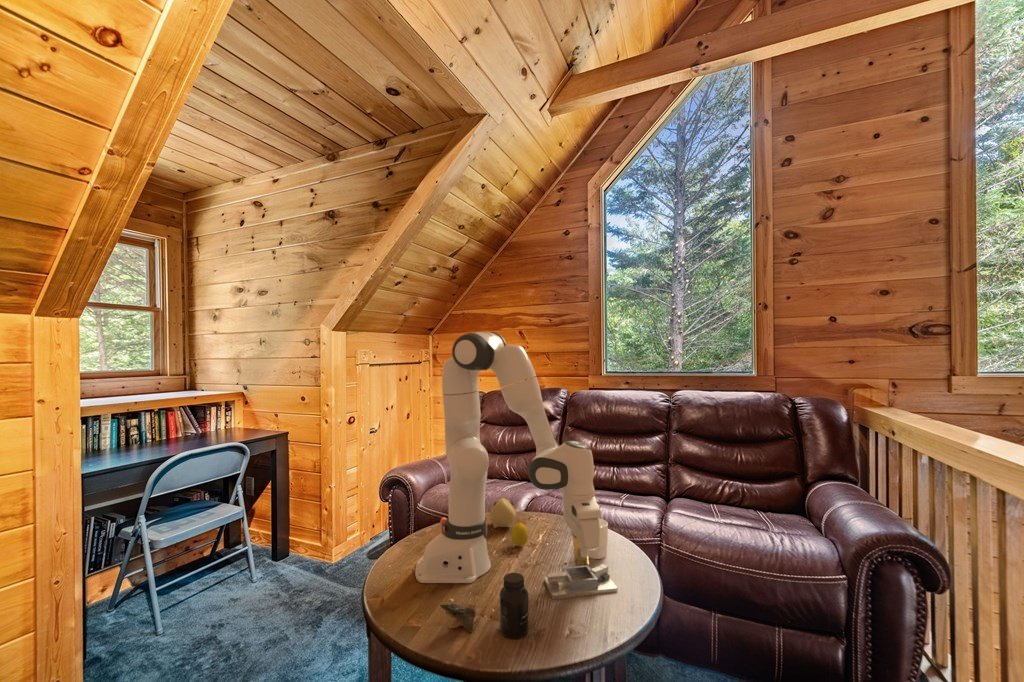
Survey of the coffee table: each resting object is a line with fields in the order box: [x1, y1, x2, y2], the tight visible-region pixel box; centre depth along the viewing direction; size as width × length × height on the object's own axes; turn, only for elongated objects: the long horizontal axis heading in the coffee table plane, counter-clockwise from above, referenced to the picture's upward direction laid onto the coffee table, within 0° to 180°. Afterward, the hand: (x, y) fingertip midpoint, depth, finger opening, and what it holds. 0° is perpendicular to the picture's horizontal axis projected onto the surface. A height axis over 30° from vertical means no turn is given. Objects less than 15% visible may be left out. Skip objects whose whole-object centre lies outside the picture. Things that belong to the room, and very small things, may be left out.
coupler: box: [573, 535, 590, 566], centre depth 115 cm, size 4×4×7 cm
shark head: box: [440, 603, 476, 634], centre depth 98 cm, size 8×6×7 cm
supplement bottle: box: [498, 572, 530, 640], centre depth 97 cm, size 7×7×12 cm
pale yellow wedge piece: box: [488, 497, 517, 529], centre depth 155 cm, size 10×12×11 cm
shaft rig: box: [543, 563, 618, 600], centre depth 115 cm, size 18×9×4 cm, turn 100°
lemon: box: [510, 521, 529, 547], centre depth 139 cm, size 6×6×8 cm
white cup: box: [589, 517, 609, 560], centre depth 133 cm, size 8×8×10 cm
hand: (580, 551), depth 115 cm, fingers closed on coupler, 4 cm apart
